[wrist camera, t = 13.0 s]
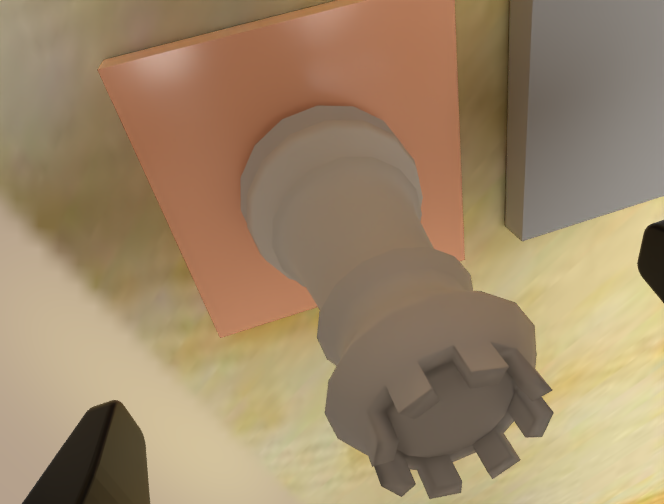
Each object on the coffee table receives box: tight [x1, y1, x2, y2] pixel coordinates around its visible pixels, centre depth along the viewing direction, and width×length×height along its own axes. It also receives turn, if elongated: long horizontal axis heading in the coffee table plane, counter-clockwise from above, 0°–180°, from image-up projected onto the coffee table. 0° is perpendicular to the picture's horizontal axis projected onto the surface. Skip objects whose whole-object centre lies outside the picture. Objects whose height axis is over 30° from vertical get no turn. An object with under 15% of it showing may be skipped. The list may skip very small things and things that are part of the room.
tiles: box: [97, 0, 664, 338], centre depth 14 cm, size 8×18×1 cm, turn 101°
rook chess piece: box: [240, 106, 553, 499], centre depth 10 cm, size 4×4×8 cm
